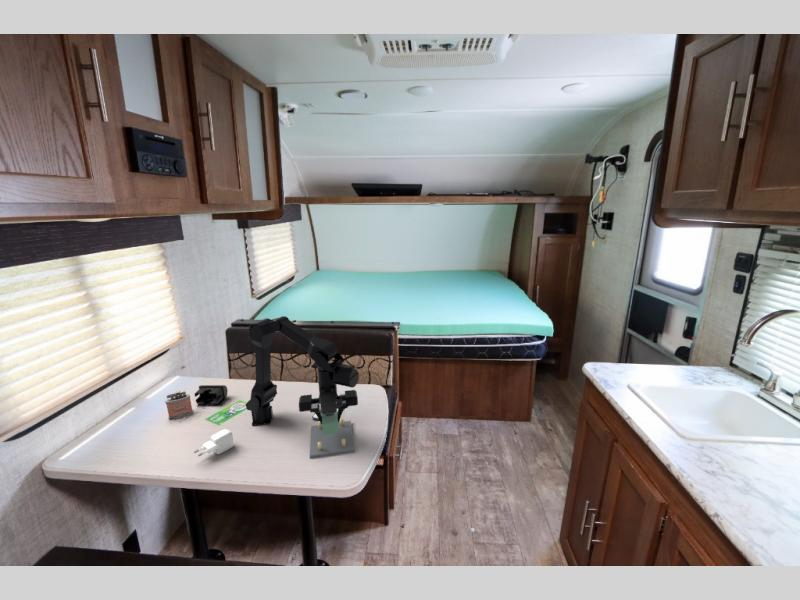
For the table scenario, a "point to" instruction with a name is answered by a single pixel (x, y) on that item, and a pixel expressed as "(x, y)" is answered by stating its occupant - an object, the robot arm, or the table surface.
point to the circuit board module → (330, 423)
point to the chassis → (331, 440)
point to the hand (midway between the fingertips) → (330, 422)
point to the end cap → (211, 395)
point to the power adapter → (218, 443)
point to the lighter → (178, 405)
